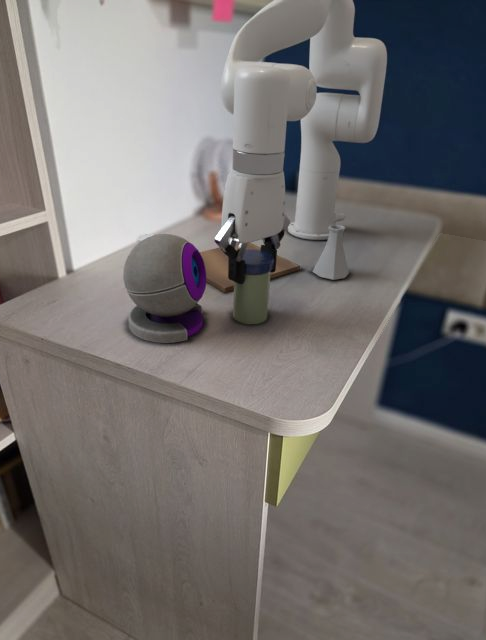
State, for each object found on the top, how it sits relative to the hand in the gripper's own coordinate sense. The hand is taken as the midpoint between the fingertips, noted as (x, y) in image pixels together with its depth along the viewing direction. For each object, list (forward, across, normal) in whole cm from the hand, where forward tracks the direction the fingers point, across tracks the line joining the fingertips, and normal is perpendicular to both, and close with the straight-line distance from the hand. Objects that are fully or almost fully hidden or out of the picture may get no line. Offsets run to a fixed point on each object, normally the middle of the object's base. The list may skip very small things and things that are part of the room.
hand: (252, 274), depth 82 cm
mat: (+8, -14, -18) cm, 24 cm away
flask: (+8, -26, -2) cm, 28 cm away
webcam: (+8, +12, -7) cm, 16 cm away
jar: (+8, 0, 0) cm, 8 cm away
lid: (-3, 0, 0) cm, 3 cm away
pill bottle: (+8, +6, -21) cm, 23 cm away
